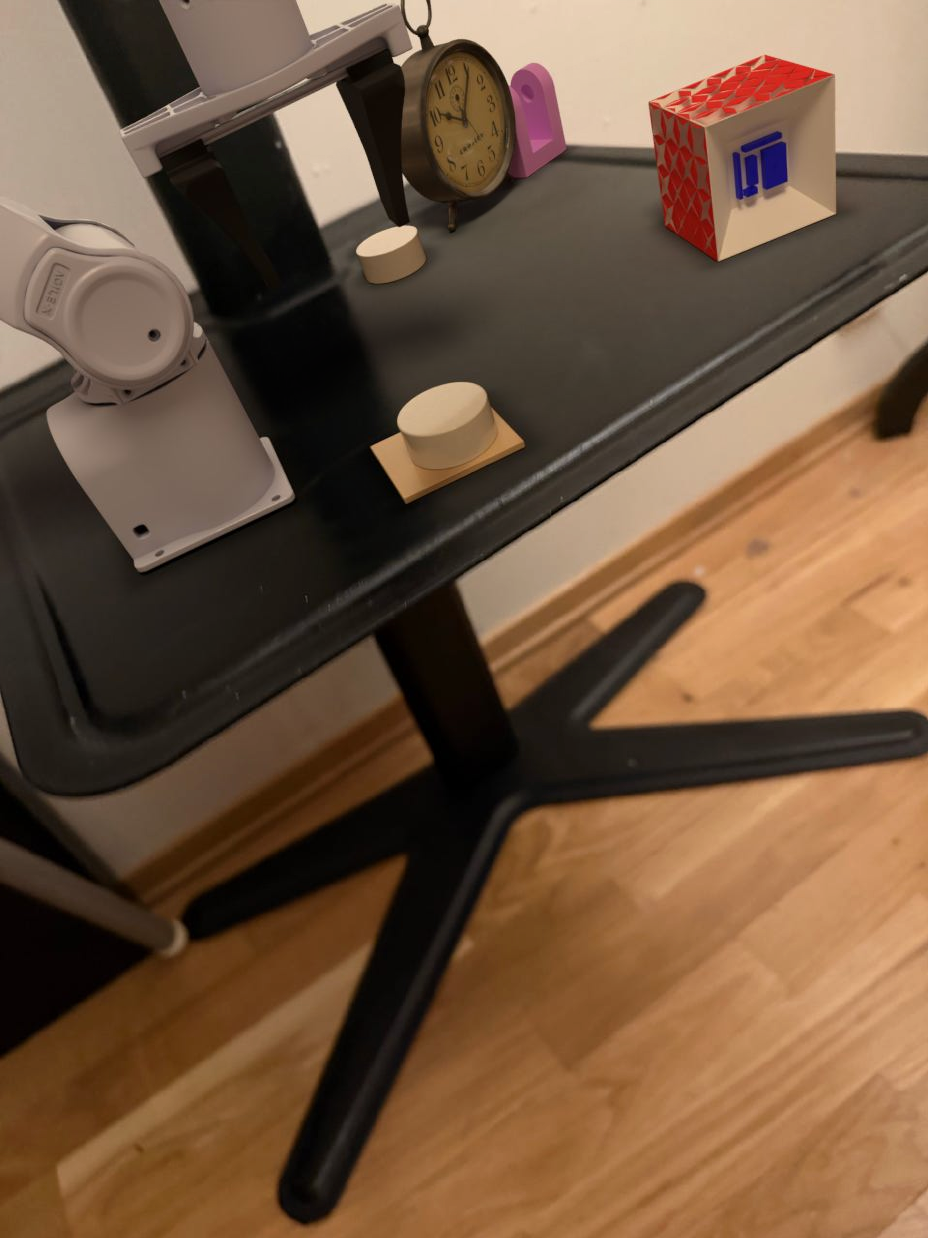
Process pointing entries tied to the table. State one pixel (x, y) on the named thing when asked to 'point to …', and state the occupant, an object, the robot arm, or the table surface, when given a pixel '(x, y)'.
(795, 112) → the puzzle cube
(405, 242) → the beige round disc
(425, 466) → the short cream cylinder
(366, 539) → the table surface
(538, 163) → the bracket
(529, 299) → the table surface
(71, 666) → the table surface
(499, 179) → the alarm clock
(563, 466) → the table surface
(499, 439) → the placemat
